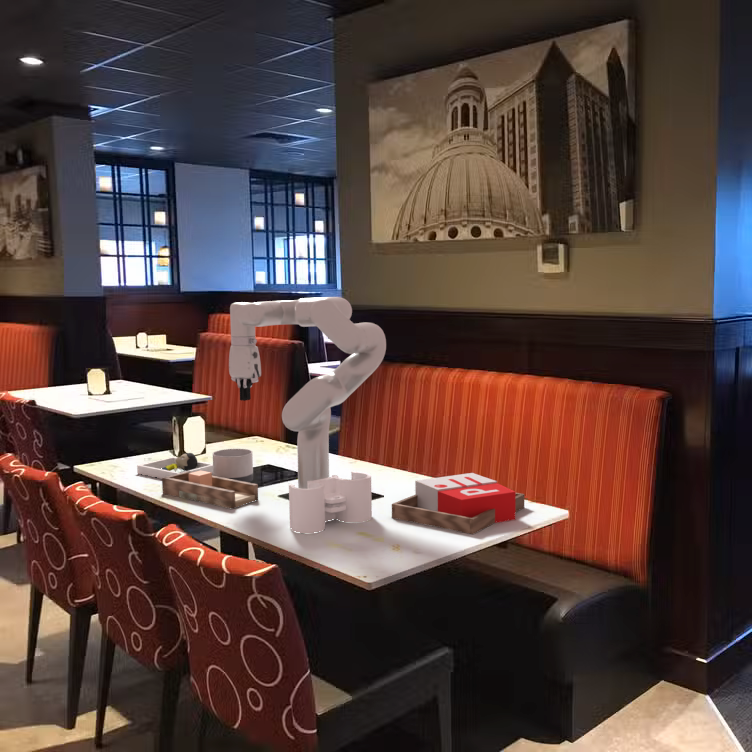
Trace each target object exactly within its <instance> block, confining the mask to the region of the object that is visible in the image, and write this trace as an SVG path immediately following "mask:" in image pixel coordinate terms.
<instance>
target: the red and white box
mask: <svg viewBox="0 0 752 752" xmlns="http://www.w3.org/2000/svg"><path fill="white" fill-rule="evenodd" d="M414 485H415V487H414V488H415V490H414V491H415V492H414V493H415V494H416V495H417V508H422V509H427V510H433V511H438V512H443V513H449V514H454V515H459V516H464V517H470V518H472V517H474V516H477V515H479V514H481V513H483V512H485V511H487V510H490V509H495V523H494V524H497V523H503V522H509V521H515V520H516V512H515V497H516V493H517V492H516V491H515V490H512V489H510V488H509V487H507V486H504V485H502V484H500V483H499V482H498V481H497V480H494V479H491V478H488V477H485V476H482V475H480V474H477V473H474V472H470V473H468V472H467V473H462V474H454V475H447V476H441V477H439V476H438V477H433V478H426V479H419V480H415V483H414ZM415 494H414V495H415Z"/></svg>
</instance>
